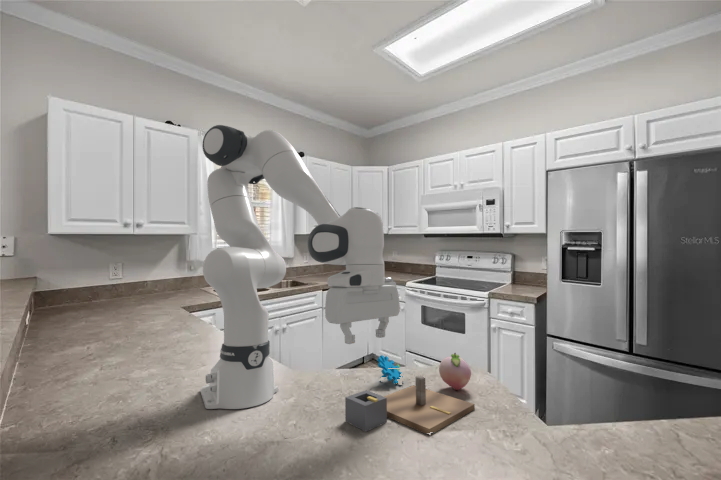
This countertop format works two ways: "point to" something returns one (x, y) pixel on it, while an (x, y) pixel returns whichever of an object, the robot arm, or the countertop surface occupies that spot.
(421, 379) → the brown square board
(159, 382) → the countertop surface
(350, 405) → the square tunnel box
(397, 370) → the gear
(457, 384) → the decorative fruit
